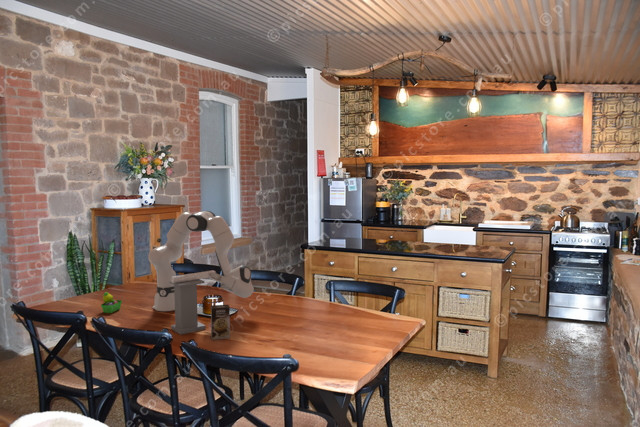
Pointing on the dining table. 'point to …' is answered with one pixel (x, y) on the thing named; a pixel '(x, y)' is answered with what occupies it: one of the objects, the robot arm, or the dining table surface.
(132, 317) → the dining table surface
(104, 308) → the fruit basket
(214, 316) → the coffee box
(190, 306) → the shelf stand
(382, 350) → the dining table surface
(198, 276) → the beige wooden bar
